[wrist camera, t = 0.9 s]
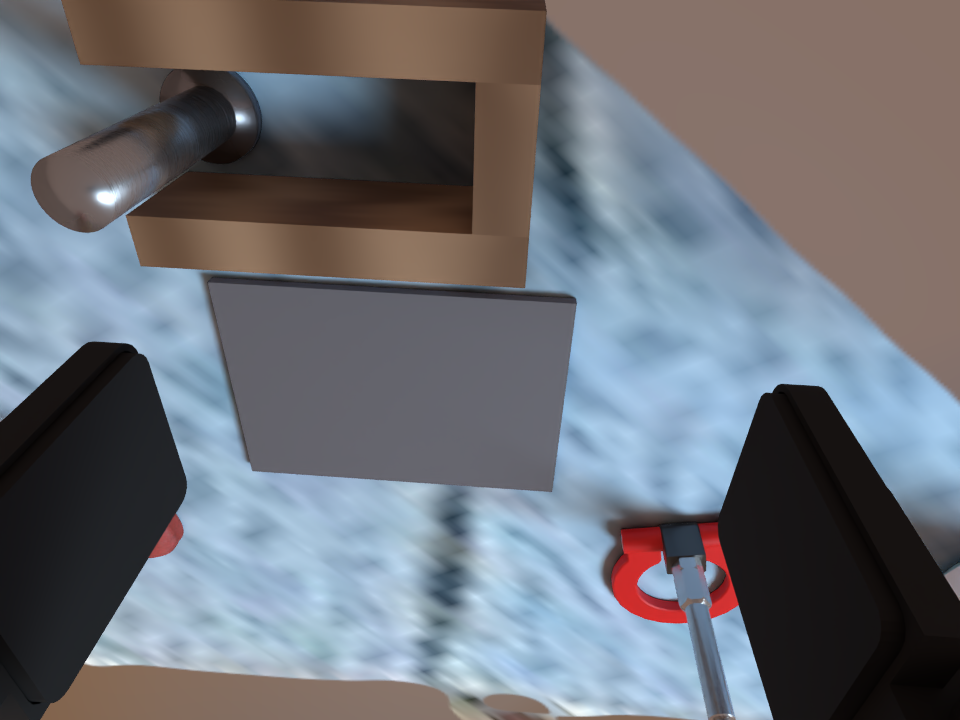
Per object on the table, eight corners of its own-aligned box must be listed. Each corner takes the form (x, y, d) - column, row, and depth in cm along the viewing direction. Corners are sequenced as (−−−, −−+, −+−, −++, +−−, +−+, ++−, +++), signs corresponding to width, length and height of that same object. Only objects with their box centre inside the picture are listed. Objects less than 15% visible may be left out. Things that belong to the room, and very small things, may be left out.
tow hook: (746, 603, 42) (753, 511, 36) (817, 842, 31) (843, 763, 26) (615, 611, 43) (604, 523, 38) (642, 841, 33) (631, 765, 27)
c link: (543, -5, 22) (546, 11, 18) (526, 234, 28) (525, 288, 23) (143, -21, 23) (58, -9, 19) (198, 216, 28) (140, 265, 24)
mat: (576, 298, 29) (576, 303, 29) (551, 485, 36) (551, 491, 36) (212, 277, 30) (207, 282, 29) (255, 464, 37) (252, 470, 36)
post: (253, 62, 24) (119, 127, 16) (268, 161, 27) (157, 261, 19) (156, 57, 25) (-24, 120, 17) (179, 157, 27) (30, 254, 19)
